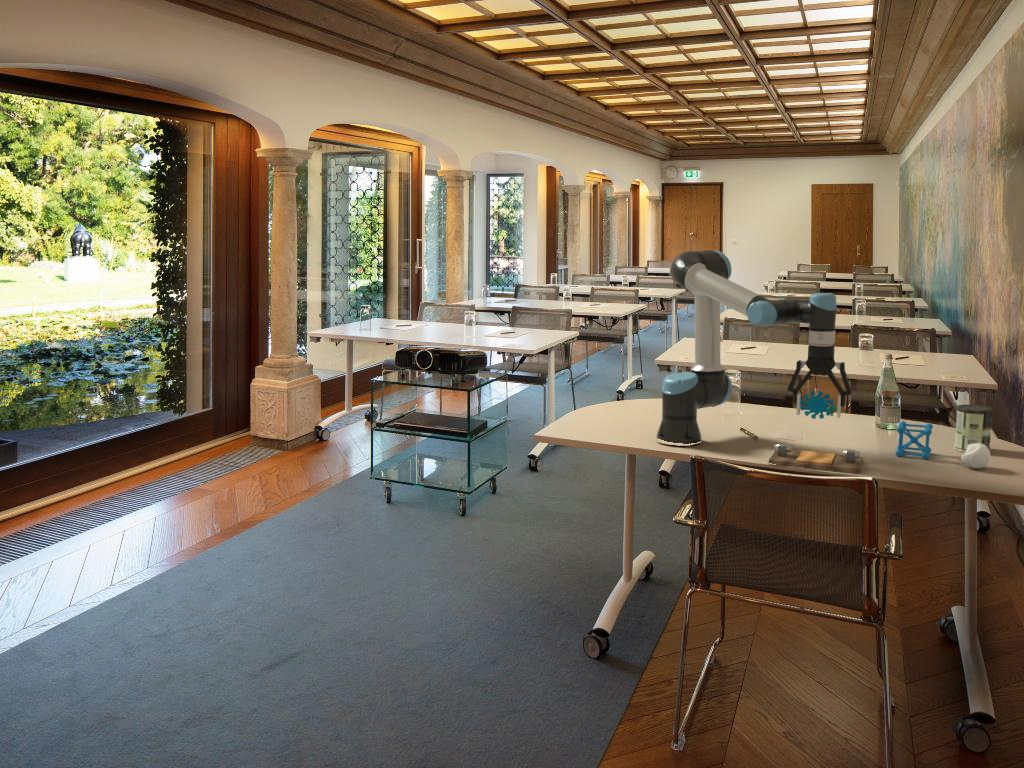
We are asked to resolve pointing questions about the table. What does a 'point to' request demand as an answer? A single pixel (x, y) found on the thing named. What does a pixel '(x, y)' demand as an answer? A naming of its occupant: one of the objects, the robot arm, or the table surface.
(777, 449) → the shaft pair
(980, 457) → the crumpled paper ball
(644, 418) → the table surface
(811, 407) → the virus model
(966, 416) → the coffee can
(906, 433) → the molecular structure
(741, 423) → the table surface
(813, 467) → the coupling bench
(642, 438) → the table surface
